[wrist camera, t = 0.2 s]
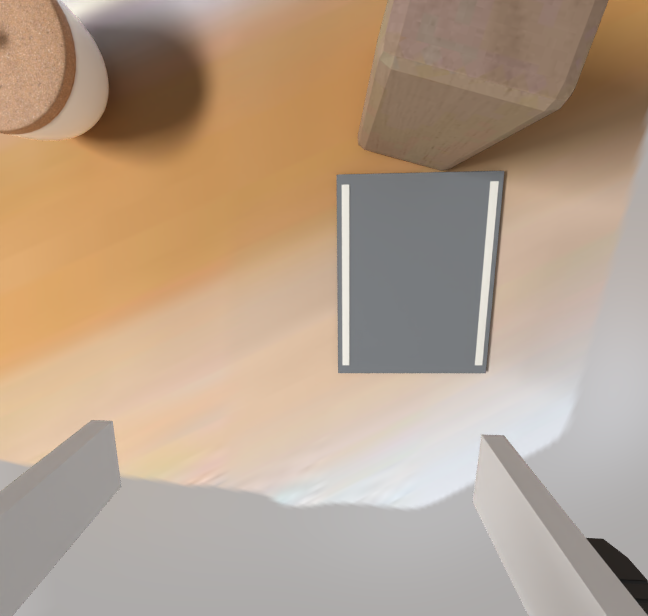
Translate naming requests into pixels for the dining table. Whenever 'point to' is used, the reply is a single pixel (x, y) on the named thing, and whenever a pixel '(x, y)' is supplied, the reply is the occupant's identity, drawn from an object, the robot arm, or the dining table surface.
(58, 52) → the lidded bowl
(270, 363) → the dining table surface
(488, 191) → the mat
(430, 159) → the wooden block
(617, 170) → the dining table surface
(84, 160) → the dining table surface
